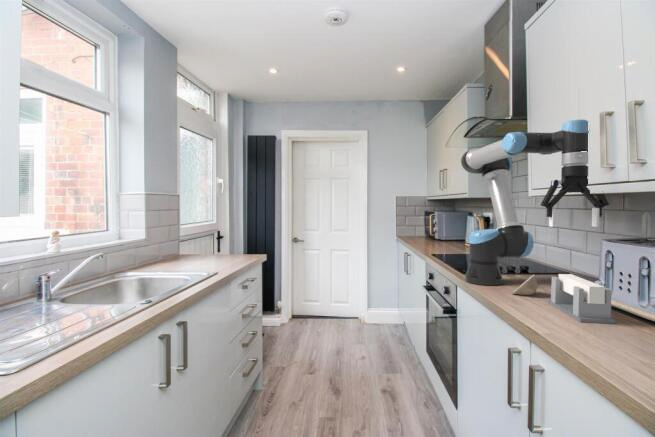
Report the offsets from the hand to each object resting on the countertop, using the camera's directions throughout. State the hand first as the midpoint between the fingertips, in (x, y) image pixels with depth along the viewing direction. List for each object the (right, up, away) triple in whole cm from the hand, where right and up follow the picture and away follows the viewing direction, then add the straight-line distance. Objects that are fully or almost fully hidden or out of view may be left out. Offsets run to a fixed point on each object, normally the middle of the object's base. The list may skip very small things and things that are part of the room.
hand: (573, 226), depth 117 cm
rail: (-6, -22, -11) cm, 25 cm away
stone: (-11, -27, +12) cm, 31 cm away
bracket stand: (-6, -27, -10) cm, 30 cm away
